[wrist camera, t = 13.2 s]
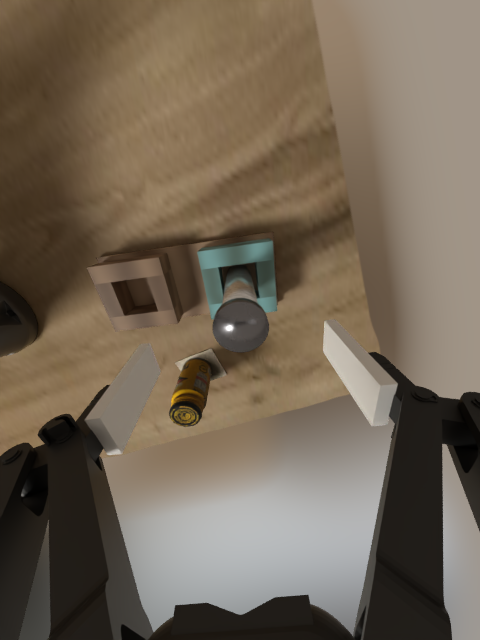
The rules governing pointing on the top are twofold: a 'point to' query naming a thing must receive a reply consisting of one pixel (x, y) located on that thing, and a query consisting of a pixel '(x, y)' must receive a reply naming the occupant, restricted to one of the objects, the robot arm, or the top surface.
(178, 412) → the condiment
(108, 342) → the top surface
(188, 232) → the top surface
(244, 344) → the steel pin
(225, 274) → the dock station
